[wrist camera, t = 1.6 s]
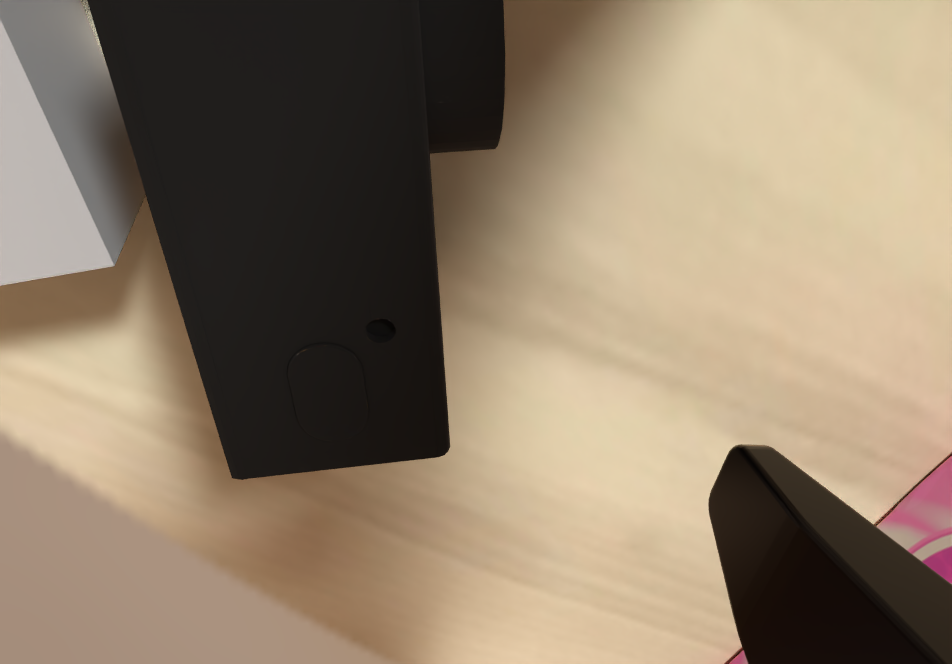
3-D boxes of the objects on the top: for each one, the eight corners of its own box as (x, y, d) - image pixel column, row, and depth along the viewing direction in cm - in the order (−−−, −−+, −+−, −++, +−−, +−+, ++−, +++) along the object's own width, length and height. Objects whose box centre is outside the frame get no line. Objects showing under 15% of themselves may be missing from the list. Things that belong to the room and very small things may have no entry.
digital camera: (469, 271, 22) (510, 458, 16) (262, 291, 21) (232, 489, 16) (449, -191, 16) (506, -146, 10) (158, -177, 15) (46, -122, 10)
